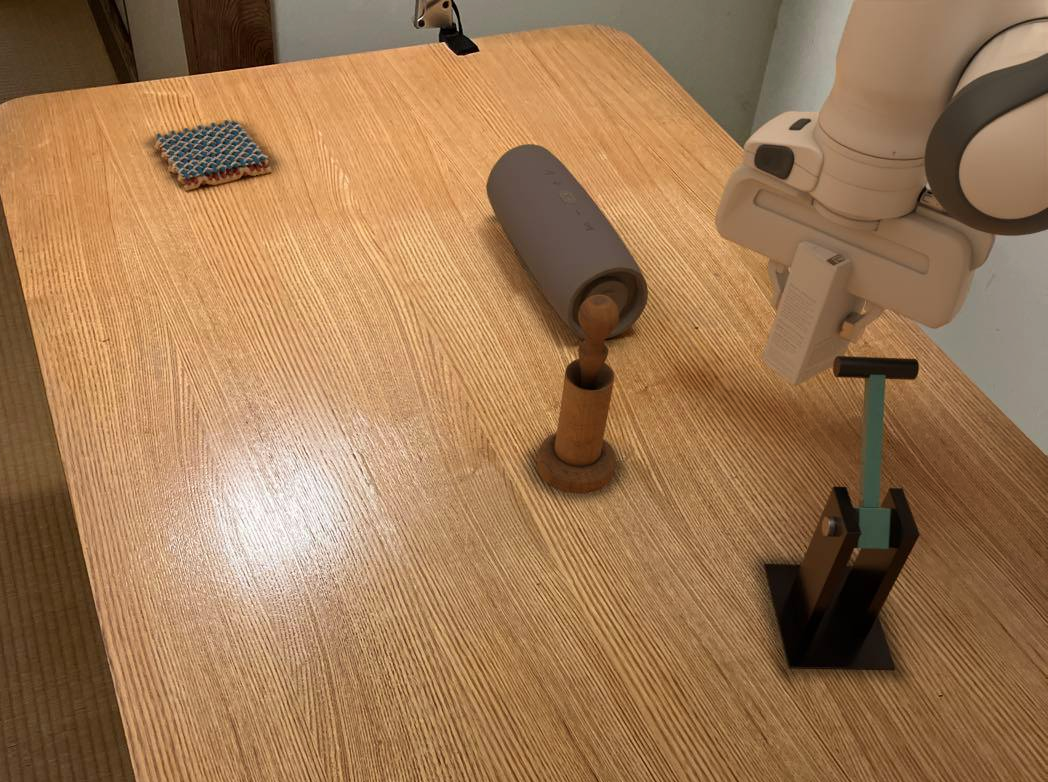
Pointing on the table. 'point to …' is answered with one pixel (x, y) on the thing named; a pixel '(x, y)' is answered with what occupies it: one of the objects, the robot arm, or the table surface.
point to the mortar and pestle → (584, 409)
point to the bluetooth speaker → (563, 237)
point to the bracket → (841, 589)
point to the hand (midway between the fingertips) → (814, 321)
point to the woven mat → (212, 155)
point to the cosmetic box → (811, 315)
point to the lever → (873, 439)
